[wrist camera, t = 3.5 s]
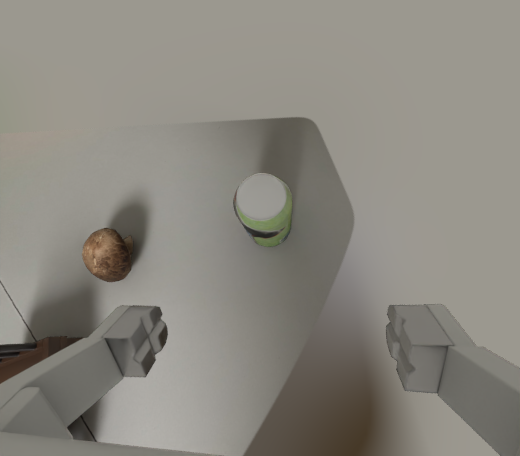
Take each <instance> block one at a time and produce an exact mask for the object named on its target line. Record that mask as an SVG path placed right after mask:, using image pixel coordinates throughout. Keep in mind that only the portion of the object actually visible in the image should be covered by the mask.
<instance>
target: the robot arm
mask: <svg viewBox="0 0 520 456" xmlns="http://www.w3.org/2000/svg"><path fill="white" fill-rule="evenodd" d="M387 315H388V318H389V320H390V323H389V324H388V325H387V326H386V339H387V344H388V348H389V352H390V354H391V357H392V358H394V359H395V360H396V361H397V369H396V370H397V372H398V375H399V377H400V380H401V382H402V385H403V387H404V390H405V391H413V392H425V393H438V396H439V397H440V398H441V399H442V400H443V401H444V402H445V403H446V404H447V405H449V406H450V407H451V408H452V409H453V410H454V411H455V412H456V413H457V414H458V415H459V416H460V417H461V418H462V419H463V420H464V421H465V422H466V423H467V424H468V425H469V426H470V427H471V428H472V429H473V430H474V431H475V432H476V433H477V434H479V436H481V437H482V438H483V439H484V440H485V441H486V442H487V443H488V444H489V445H490V446H491V447H492V448H493V449H494V450H495V451H496V452H497V453H498V454H499V455H500V456H520V368H519V367H517V366H516V365H514V364H512V363H510V362H509V361H507V360H505V359H504V358H502V357H500V356H498V355H497V354H495V353H493V352H492V351H490V350H488V349H486V348H485V347H477V346H476V344H475V343H474V342H473V341H472V339H471V338H470V337H469V336H468V334H467V333H466V332H465V330H464V329H463V328H462V327H461V325H460V324H459V323H458V322H457V320H456V319H455V318H454V317H453V315H452V314H451V313H450V312H449V311H448V309H447V308H446V307H445V306H444V305H442V304H427V305H426V304H424V305H390V306H389V307H388V313H387ZM161 316H162V312H161V309H160V307H157V306H134V305H133V306H123V305H122V306H119V307H117V308H116V309H115V310H114V311H113V312H112V313H111V314H110V315H109V316H108V317H107V318H106V319H105V320H104V322H103V323H102V324H101V325H100V326H99V327H98V328H97V329H96V330H95V331H94V332H93V333H92V334H91V335H90V336H89V337H88V338H83V339H81V340H79V341H77V342H75V343H74V344H72V345H70V346H68V347H66V348H64V349H63V350H61V351H59V352H57V353H55V354H53V355H52V356H50V357H48V358H46V359H44V360H43V361H41V362H39V363H37V364H35V365H33V366H32V367H30V368H28V369H26V370H24V371H23V372H21V373H19V374H17V375H15V376H13V377H12V378H10V379H8V380H6V381H4V382H2V383H1V384H0V456H222V455H213V454H204V453H194V452H185V451H176V450H166V449H157V448H148V447H138V446H129V445H120V444H111V443H101V442H92V441H83V440H74V439H73V436H72V435H71V433H70V432H69V430H68V429H67V427H68V426H69V425H70V424H71V423H72V422H73V421H75V420H76V419H77V418H78V417H79V416H80V415H82V414H83V413H84V412H85V411H86V410H87V409H88V408H90V407H91V406H92V405H93V404H94V403H95V402H97V401H98V400H99V399H100V398H101V397H102V396H103V395H105V394H106V393H107V392H108V391H109V390H110V389H112V388H113V387H114V386H115V385H116V384H117V383H119V382H120V381H121V380H122V379H123V377H146V376H147V374H148V372H149V371H150V369H151V367H152V366H153V364H154V362H155V361H156V359H155V354H157V353H158V352H159V351H161V350H162V349H163V347H164V345H165V343H166V340H167V336H168V331H167V326H166V323H165V322H163V321H162V320H161Z"/></svg>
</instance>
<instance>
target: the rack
mask: <svg viewBox="0 0 520 456" xmlns="http://www.w3.org/2000/svg"><path fill="white" fill-rule="evenodd" d="M81 339H83V338H67V336H60V337H59V336H58V337H47V338H44V339H42V340H39V341H37V342H34V343H26V344H6V345H0V384H1V383H2V382H4V381H6V380H8V379H10V378H12V377H13V376H15V375H17V374H19V373H21V372H23V371H24V370H26V369H28V368H30V367H32V366H33V365H35V364H37V363H39V362H41V361H43V360H44V359H46V358H48V357H50V356H52V355H53V354H55V353H57V352H59V351H61V350H63V349H64V348H66V347H68V346H70V345H72V344H74V343H75V342H77V341H79V340H81Z"/></svg>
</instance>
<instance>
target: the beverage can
mask: <svg viewBox="0 0 520 456" xmlns="http://www.w3.org/2000/svg"><path fill="white" fill-rule="evenodd" d="M233 204H234V211H235V213H236V216H237V217H238V219H239V220H240V222H241V223H242V225H243V226H244V228H245V229H246V231H247V233H248V234H249V236H250V237H251V239H252V240H253V241H254V242H256V243H257V244H259V245H261V246H266V247H271V246H276V245H278V244H280V243H282V242H283V241H284V240H285V239H286V238H287V236H288V235H289V233H290V229H291V215H292V195H291V192H290V190H289V188H288V186H287V185H286V184H285V183H284V182H283V181H282V180H281V179H279V178H278V177H276V176H273V175H271V174H267V173H257V174H253V175H251V176H249V177H248V178H246V179H245V180H244V181H243V182H242V183H241V184H240V186H239V187H238V188H237V190H236V192H235V195H234V201H233Z"/></svg>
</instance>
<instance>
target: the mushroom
mask: <svg viewBox="0 0 520 456" xmlns="http://www.w3.org/2000/svg"><path fill="white" fill-rule="evenodd" d="M132 249H133V241H132V237H131V236H128V237H126V238H125V239H123V238H122V237H121V236H120V235H119V233H118V232H117V231H116V230H114V229H109V228H103V229H100V230H98V231H96V232H94V233H92V234H91V235H90V237H89V238H88V239H87V241H86V242H85V243H84V247H83V252H82V256H83V261H84V263H85V265H86V267H87V268H88V270H89V271H90V272H91V273H92V274H93V275H95V276H96V277H97V278H99V279H102V280H104V281H107V282H115V281H119V280H122V279H124V278H125V277H126V276H127V275H128V273H129V272H130V271H131V257H130V256H131V254H132Z"/></svg>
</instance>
